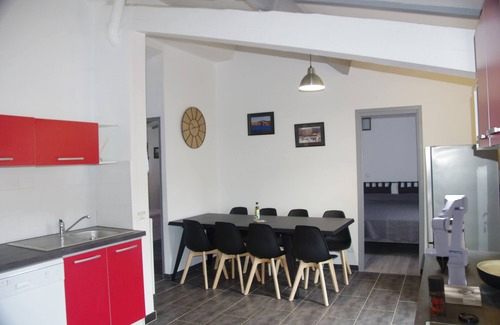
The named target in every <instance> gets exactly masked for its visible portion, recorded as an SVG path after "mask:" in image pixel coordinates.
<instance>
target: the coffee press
mask: <svg viewBox="0 0 500 325" xmlns="http://www.w3.org/2000/svg"><path fill="white" fill-rule="evenodd" d="M452 220H453V214H452V218H451V219H450V221H449V222H450V224H449V229H448V230H447V231H448V245H449V246H450V245H451V235H452ZM464 224H465V221H464V220H463V230H462V247H463V248H464V249H465V250H466V251H467V249H466V246H467V245H466V236H465V228H464V227H465V226H464ZM455 253H458V252H455ZM442 261H443V257H442ZM468 265H470V262H469V261H468V264H467V265H466V266H468Z"/></svg>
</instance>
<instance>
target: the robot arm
mask: <svg viewBox="0 0 500 325" xmlns="http://www.w3.org/2000/svg"><path fill="white" fill-rule="evenodd" d="M443 203H444V207H443V208H441V209H440V211H439V212H438V214H437V215H436V217H434V218H432V219H431V222H430V224H431V229H432V234H433V237H434V238H433V239H434V250H435V251H425V252H424V256H425V258H429V257H430V258H435V259H436V261H437V263H438V265H439V268H440V270H441V274H446V269H447V268H448V280H447V281H448V284H447V285H457V286H468V285H467V280H466V267H467V266H468V265H467V264H468V262H469V257H468V255H469V254H468V251H467V249H466V250H465V249H464V248H463V247H462V230H463V221H464V216H465V214H467V213H468V209H469V199H468V197H467V195H465V194H463V195H449V194H446V195H445V196H444V198H443ZM452 214H453V216H452ZM452 217H453V220H452V235H451V245H450V246H449V245H448V231H447V230H448V229H449V224H450V222H449V221H450V219H451V218H452ZM455 252H458V253H455ZM442 257H443V260H442Z"/></svg>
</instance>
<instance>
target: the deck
mask: <svg viewBox="0 0 500 325" xmlns="http://www.w3.org/2000/svg"><path fill="white" fill-rule="evenodd" d="M444 288H445V303H447V304H454V305H464V306H465V305H466V306H478V307H482V296H481V290H480V287H479V286H468V285H467V286H457V285H448V284H444ZM467 291H470V292H472V293H473V294H465V293H466V292H467Z"/></svg>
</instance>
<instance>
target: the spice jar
mask: <svg viewBox="0 0 500 325" xmlns="http://www.w3.org/2000/svg"><path fill="white" fill-rule="evenodd" d="M427 285H428V286H427V287H428V296H429V297H428V300H429V302H428V303H429V314H430V315H431V316H434V317H438V318H440V317H441V318H442V317H446V316H447V306H446V303H445V288H444V285H445V278H444V276H443V275H438V274H430V275H428V276H427Z"/></svg>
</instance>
